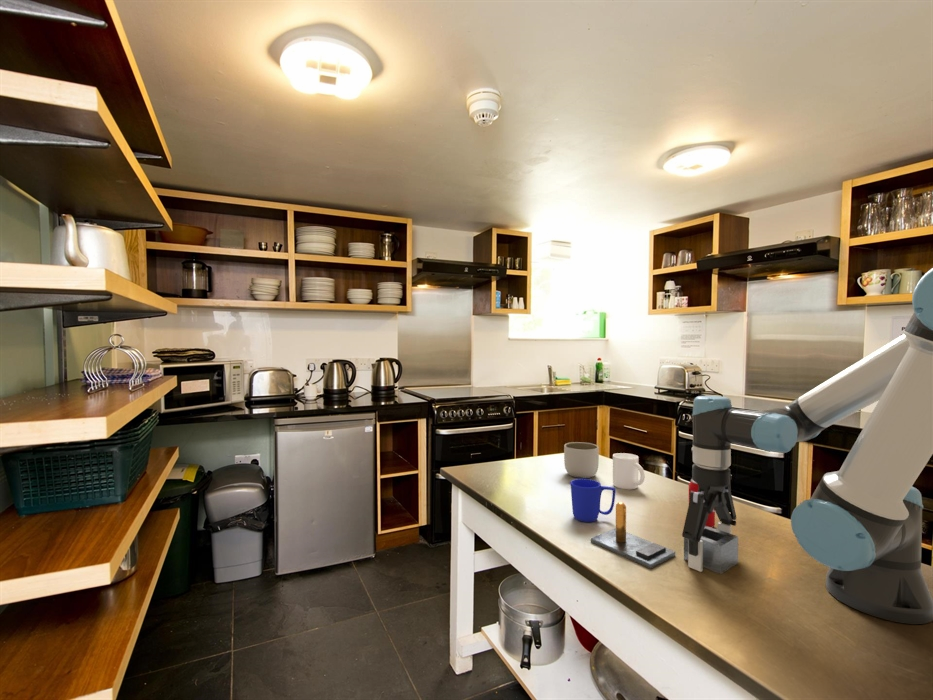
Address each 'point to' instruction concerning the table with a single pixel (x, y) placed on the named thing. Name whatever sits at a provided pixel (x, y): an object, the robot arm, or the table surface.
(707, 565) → the hollow square tube
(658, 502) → the table surface
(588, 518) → the mug
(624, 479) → the mug
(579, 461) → the planter
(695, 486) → the beverage can
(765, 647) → the table surface
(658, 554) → the keeper
